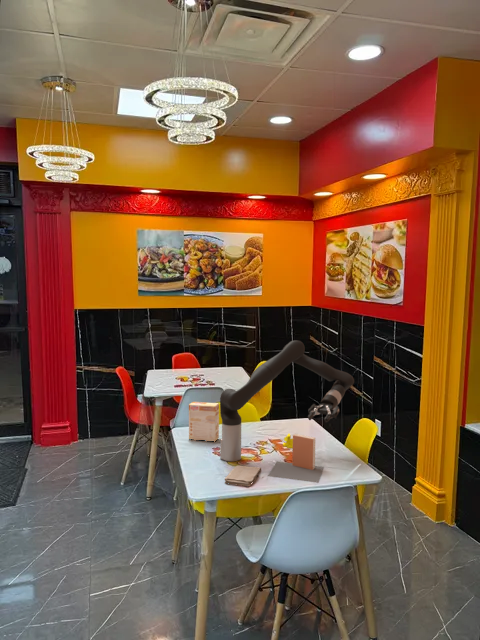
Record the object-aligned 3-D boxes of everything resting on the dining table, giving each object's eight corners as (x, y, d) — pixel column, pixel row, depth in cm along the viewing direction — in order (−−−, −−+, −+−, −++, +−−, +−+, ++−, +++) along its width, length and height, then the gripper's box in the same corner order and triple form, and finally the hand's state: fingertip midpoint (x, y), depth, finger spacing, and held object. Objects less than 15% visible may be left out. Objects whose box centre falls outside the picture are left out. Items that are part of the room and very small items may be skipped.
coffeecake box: (219, 438, 257) (219, 403, 255) (215, 442, 250) (215, 406, 249) (193, 436, 261) (193, 401, 259) (188, 440, 254) (188, 404, 252)
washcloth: (223, 485, 198) (223, 477, 198) (236, 469, 215) (236, 462, 215) (250, 488, 195) (250, 481, 194) (261, 472, 212) (261, 465, 212)
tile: (292, 465, 217) (292, 435, 216) (294, 463, 219) (295, 433, 218) (312, 469, 212) (313, 439, 211) (314, 468, 214) (315, 437, 213)
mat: (267, 477, 205) (267, 475, 205) (276, 463, 222) (276, 461, 222) (318, 484, 198) (318, 482, 198) (324, 468, 215) (324, 467, 215)
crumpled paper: (298, 450, 240) (298, 435, 239) (282, 449, 241) (282, 434, 240) (298, 446, 245) (299, 431, 245) (283, 445, 247) (283, 430, 246)
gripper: (316, 392, 237) (302, 411, 225) (343, 395, 228) (329, 414, 216) (320, 405, 239) (305, 424, 228) (346, 408, 231) (332, 428, 219)
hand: (317, 419), depth 222 cm, fingers open, 8 cm apart
